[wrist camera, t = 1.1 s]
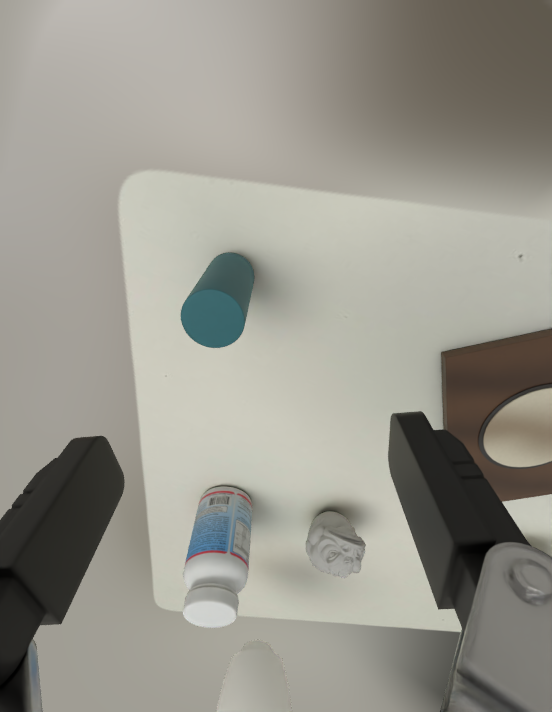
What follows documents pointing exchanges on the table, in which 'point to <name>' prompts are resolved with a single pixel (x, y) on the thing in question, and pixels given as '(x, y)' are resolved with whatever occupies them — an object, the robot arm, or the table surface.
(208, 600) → the pill bottle
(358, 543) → the grey sculpted head figurine
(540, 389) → the wooden board with hole
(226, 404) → the table surface
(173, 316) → the table surface
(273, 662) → the cup
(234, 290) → the teal cylinder
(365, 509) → the table surface
